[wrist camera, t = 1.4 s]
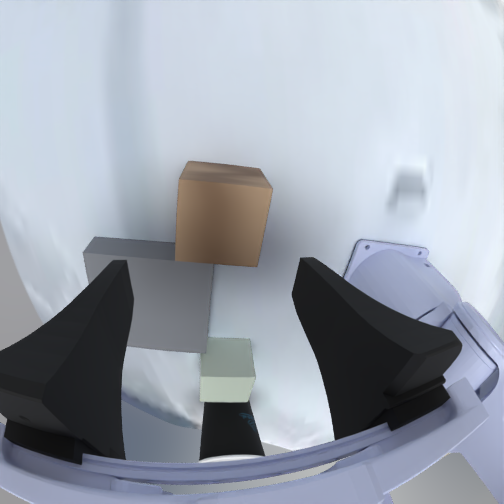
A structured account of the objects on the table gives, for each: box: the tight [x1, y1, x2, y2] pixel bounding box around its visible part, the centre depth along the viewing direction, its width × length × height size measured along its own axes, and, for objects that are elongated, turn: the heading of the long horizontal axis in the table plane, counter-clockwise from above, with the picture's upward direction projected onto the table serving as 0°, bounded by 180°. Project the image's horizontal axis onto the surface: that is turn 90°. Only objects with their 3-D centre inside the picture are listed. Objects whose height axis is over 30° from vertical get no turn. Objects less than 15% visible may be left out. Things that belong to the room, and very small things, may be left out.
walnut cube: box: [175, 161, 273, 267], centre depth 17 cm, size 5×5×5 cm
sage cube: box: [200, 337, 256, 402], centre depth 26 cm, size 5×5×5 cm
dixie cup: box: [198, 400, 265, 463], centre depth 27 cm, size 8×8×11 cm
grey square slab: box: [83, 237, 214, 354], centre depth 22 cm, size 10×10×3 cm
